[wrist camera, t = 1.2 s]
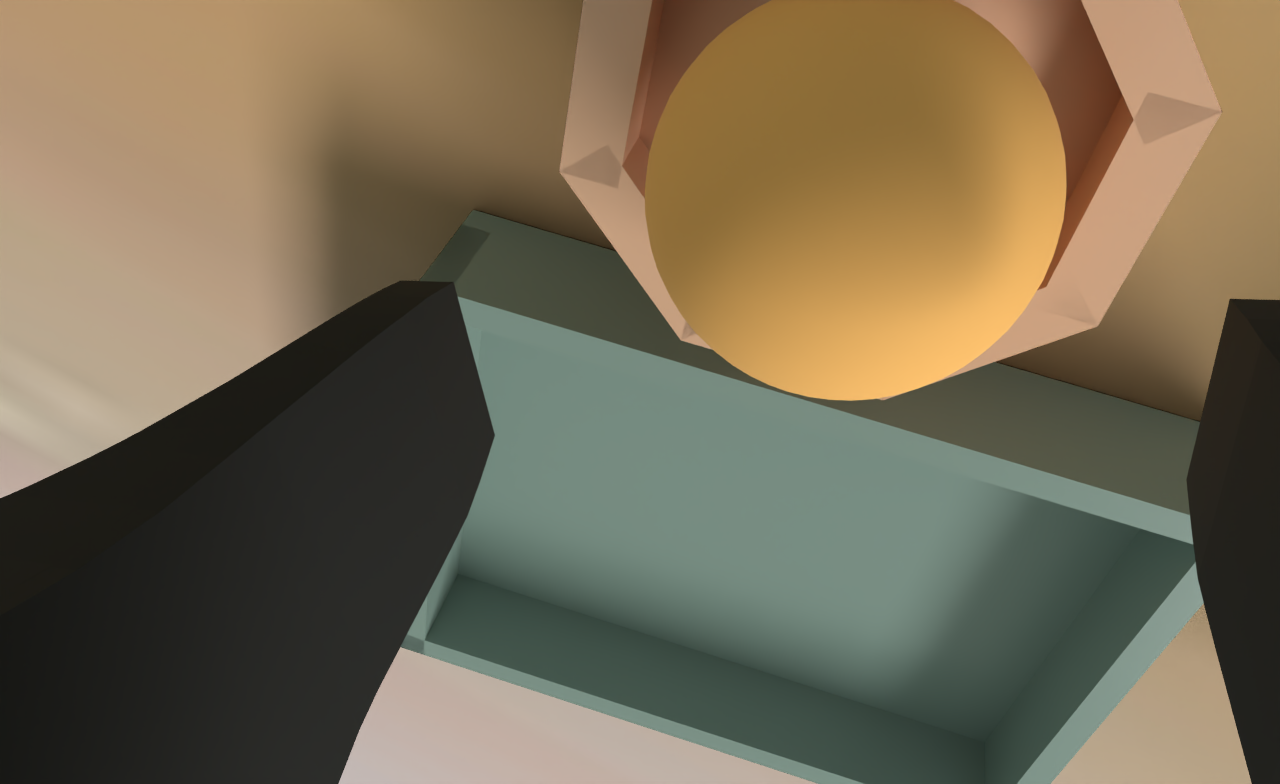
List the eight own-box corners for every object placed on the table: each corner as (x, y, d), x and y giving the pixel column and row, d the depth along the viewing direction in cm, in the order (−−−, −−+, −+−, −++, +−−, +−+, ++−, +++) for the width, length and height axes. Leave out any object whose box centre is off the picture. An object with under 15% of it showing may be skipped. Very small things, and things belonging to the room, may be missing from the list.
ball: (1123, -16, 13) (1180, 164, 9) (971, 304, 16) (968, 535, 13) (735, -118, 14) (638, 16, 10) (661, 215, 17) (568, 413, 13)
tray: (1231, 431, 20) (1260, 536, 18) (998, 741, 27) (1000, 843, 25) (472, 209, 21) (416, 284, 19) (444, 564, 28) (400, 647, 26)
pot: (1263, -169, 14) (1339, -90, 11) (1022, 303, 20) (1029, 444, 16) (694, -310, 15) (620, -271, 12) (607, 185, 20) (541, 298, 17)
